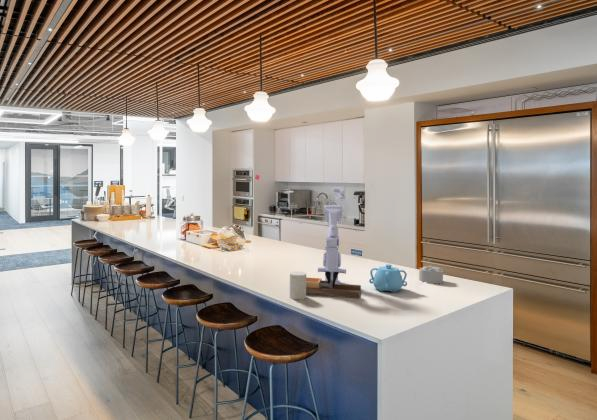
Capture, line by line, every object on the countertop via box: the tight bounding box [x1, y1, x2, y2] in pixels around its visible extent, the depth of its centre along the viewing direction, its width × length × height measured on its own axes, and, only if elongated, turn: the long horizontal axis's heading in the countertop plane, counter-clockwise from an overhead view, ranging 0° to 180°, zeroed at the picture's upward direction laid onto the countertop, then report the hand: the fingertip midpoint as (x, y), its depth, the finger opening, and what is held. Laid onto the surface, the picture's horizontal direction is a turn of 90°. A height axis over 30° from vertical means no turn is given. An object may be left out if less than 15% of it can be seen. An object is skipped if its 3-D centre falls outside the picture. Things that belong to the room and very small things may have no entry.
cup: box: [289, 271, 307, 300], centre depth 210 cm, size 8×8×12 cm
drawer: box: [306, 276, 333, 289], centre depth 220 cm, size 9×16×5 cm, turn 78°
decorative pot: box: [368, 263, 408, 293], centre depth 227 cm, size 16×16×14 cm
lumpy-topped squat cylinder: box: [418, 265, 444, 284], centre depth 246 cm, size 10×13×9 cm
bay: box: [306, 283, 362, 299], centre depth 219 cm, size 13×34×7 cm, turn 78°
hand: (331, 286), depth 219 cm, fingers closed on drawer
